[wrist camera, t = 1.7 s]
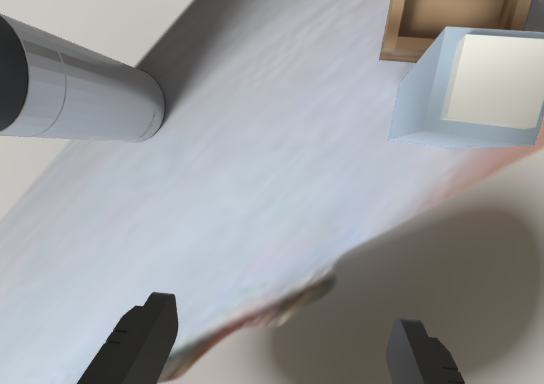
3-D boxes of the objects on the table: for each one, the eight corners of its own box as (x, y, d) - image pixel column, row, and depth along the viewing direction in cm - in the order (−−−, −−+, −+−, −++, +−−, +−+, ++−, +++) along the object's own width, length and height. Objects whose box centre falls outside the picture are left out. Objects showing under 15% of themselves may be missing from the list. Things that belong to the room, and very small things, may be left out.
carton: (447, 148, 32) (548, 144, 16) (387, 140, 33) (428, 129, 17) (461, 89, 31) (583, 24, 15) (399, 83, 32) (453, 17, 16)
